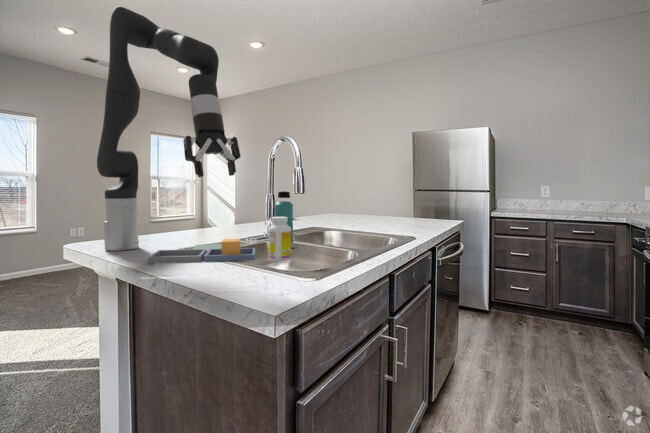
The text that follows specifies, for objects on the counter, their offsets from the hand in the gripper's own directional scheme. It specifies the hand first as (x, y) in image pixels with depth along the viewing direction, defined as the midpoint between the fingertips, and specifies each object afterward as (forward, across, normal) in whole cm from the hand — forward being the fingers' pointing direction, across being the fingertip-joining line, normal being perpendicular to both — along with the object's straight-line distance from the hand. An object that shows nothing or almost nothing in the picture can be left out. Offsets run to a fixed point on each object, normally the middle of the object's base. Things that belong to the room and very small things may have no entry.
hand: (216, 176), depth 92 cm
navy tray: (+23, -6, -12) cm, 27 cm away
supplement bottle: (+26, -16, -2) cm, 31 cm away
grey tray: (+21, +8, -20) cm, 30 cm away
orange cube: (+23, -6, -12) cm, 26 cm away
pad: (+20, -5, -27) cm, 34 cm away
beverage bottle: (+24, -26, -15) cm, 38 cm away
